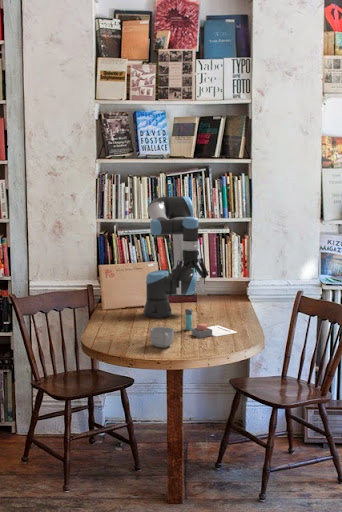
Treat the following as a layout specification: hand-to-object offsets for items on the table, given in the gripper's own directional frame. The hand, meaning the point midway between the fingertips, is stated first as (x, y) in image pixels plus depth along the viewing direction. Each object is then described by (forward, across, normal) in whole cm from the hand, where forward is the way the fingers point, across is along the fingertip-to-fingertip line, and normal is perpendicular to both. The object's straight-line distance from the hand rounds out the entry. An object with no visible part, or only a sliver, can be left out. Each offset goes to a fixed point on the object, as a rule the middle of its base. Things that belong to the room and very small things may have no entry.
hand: (190, 292), depth 360 cm
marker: (+19, -1, 0) cm, 19 cm away
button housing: (+18, -2, -12) cm, 22 cm away
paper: (+18, +9, -10) cm, 23 cm away
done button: (+17, -2, -12) cm, 21 cm away
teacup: (+19, -28, -18) cm, 38 cm away
